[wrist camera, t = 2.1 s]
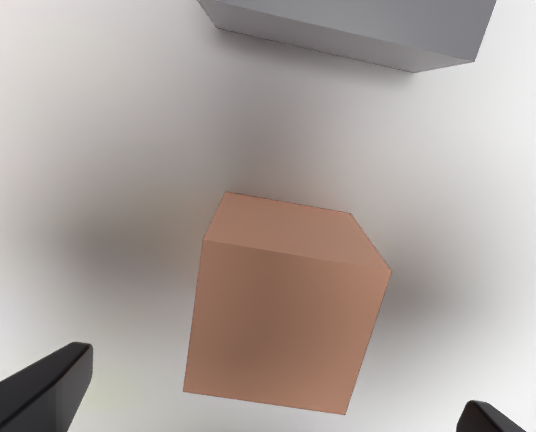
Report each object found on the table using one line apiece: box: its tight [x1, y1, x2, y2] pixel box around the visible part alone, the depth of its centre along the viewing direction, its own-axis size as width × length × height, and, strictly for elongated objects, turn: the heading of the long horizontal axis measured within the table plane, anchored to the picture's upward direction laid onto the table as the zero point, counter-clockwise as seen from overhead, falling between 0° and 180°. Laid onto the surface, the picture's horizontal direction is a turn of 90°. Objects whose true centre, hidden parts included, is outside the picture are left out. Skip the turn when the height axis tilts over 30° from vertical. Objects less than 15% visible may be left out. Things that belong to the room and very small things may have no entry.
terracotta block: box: [183, 192, 392, 415], centre depth 12 cm, size 5×5×5 cm
